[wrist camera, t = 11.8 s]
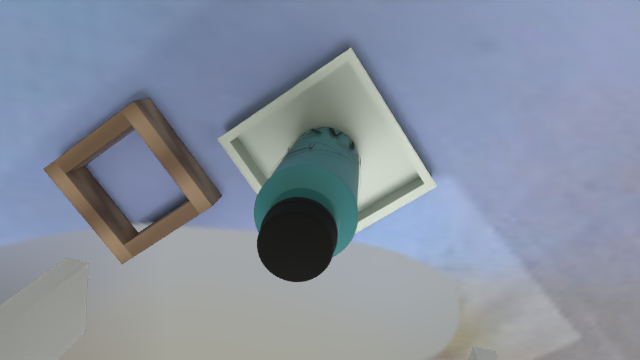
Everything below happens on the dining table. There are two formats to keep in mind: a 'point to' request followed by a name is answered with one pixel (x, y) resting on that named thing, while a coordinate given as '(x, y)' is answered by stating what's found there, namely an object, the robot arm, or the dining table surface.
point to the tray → (347, 115)
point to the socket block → (100, 206)
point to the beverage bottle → (309, 205)
